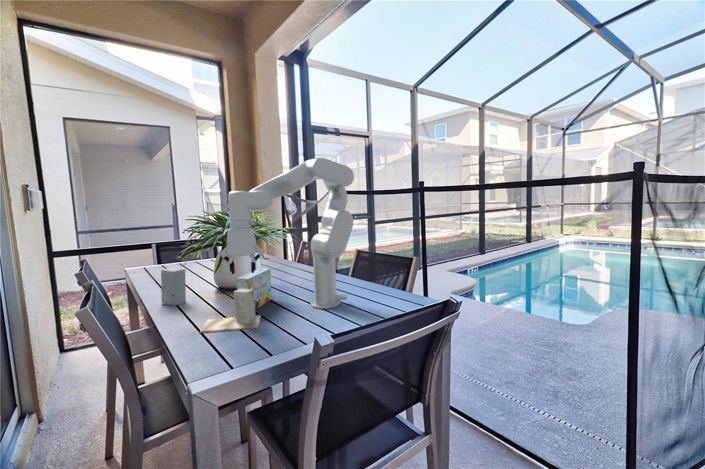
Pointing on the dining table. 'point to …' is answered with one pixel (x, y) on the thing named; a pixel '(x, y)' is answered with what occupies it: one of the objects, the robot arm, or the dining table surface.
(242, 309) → the skincare box
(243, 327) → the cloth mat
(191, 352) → the dining table surface
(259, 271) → the snack box
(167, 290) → the skincare box
